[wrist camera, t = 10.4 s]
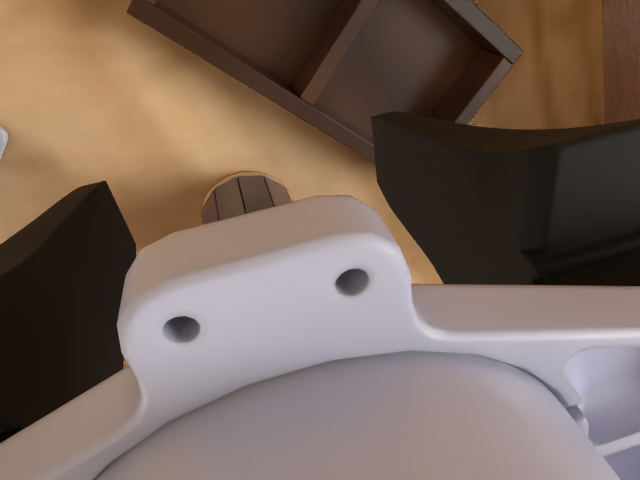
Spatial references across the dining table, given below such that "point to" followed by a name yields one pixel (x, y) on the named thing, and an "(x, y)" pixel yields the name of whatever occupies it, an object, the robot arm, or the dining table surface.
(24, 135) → the dining table surface
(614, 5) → the tissue box cover
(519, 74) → the dining table surface
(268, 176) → the cup
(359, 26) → the cup holder
